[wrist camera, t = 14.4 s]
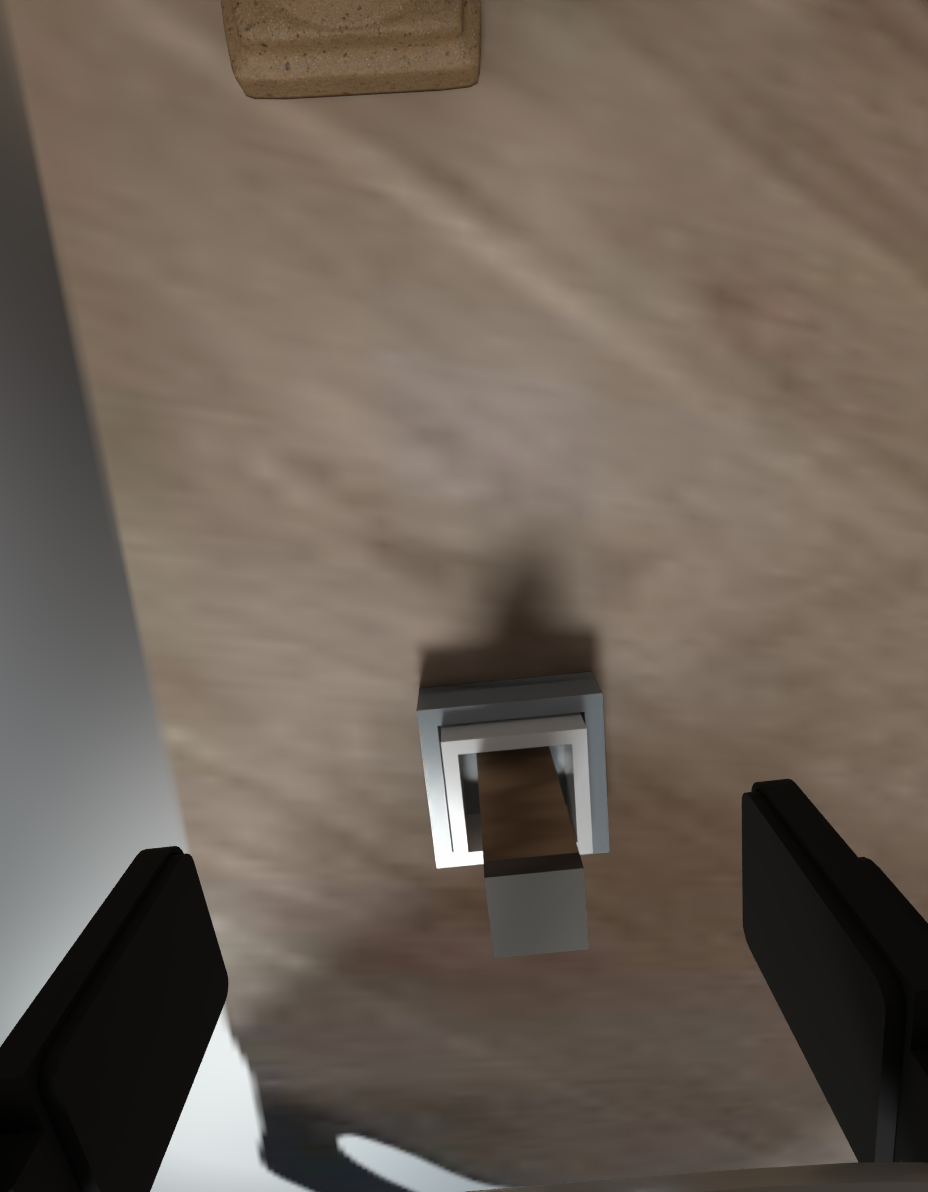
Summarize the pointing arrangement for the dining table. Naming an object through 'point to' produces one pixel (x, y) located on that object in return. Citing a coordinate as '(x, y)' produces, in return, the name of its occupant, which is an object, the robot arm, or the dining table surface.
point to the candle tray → (504, 722)
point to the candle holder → (352, 46)
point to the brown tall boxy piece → (529, 856)
